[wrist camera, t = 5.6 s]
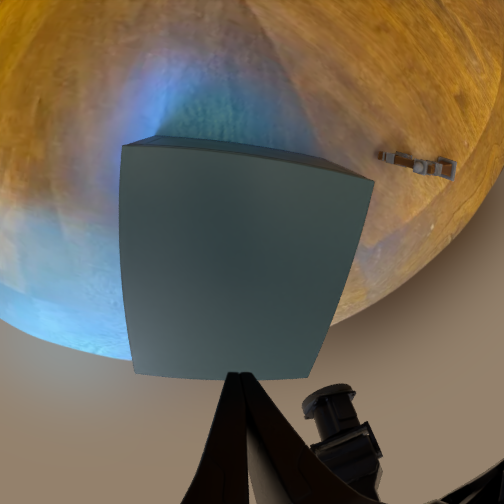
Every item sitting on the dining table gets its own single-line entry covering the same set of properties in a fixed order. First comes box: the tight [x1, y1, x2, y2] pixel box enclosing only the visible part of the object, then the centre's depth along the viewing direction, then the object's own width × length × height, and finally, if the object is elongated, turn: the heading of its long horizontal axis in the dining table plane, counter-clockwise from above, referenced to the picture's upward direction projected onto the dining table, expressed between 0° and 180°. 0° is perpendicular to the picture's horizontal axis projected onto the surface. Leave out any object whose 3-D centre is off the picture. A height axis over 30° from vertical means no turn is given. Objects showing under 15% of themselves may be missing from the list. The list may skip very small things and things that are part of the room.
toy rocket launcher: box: [378, 151, 457, 181], centre depth 17 cm, size 2×8×4 cm, turn 88°
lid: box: [119, 144, 375, 380], centre depth 14 cm, size 13×12×1 cm
